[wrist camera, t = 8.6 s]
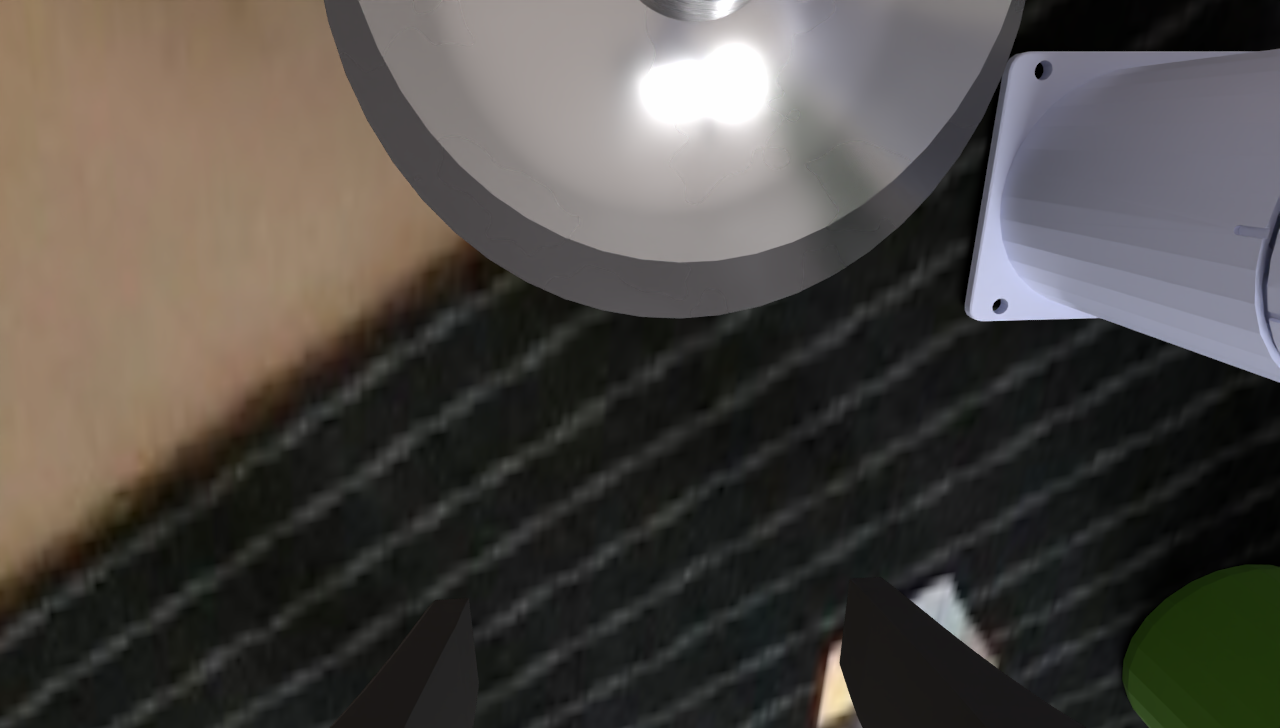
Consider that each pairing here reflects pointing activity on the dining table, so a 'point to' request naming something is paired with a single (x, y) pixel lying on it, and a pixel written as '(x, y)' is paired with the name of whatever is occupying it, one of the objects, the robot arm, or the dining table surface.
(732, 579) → the dining table surface
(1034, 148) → the robot arm
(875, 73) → the steel lid
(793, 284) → the cooking pot
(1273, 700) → the wine bottle
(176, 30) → the dining table surface
